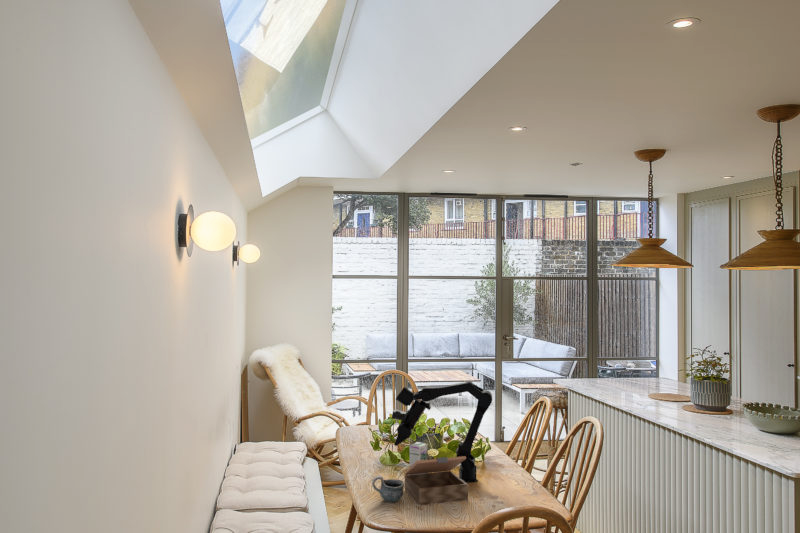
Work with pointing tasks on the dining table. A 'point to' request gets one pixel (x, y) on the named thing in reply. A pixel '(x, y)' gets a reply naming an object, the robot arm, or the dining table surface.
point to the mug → (389, 489)
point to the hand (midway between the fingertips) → (396, 442)
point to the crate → (436, 487)
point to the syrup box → (417, 452)
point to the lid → (434, 465)
